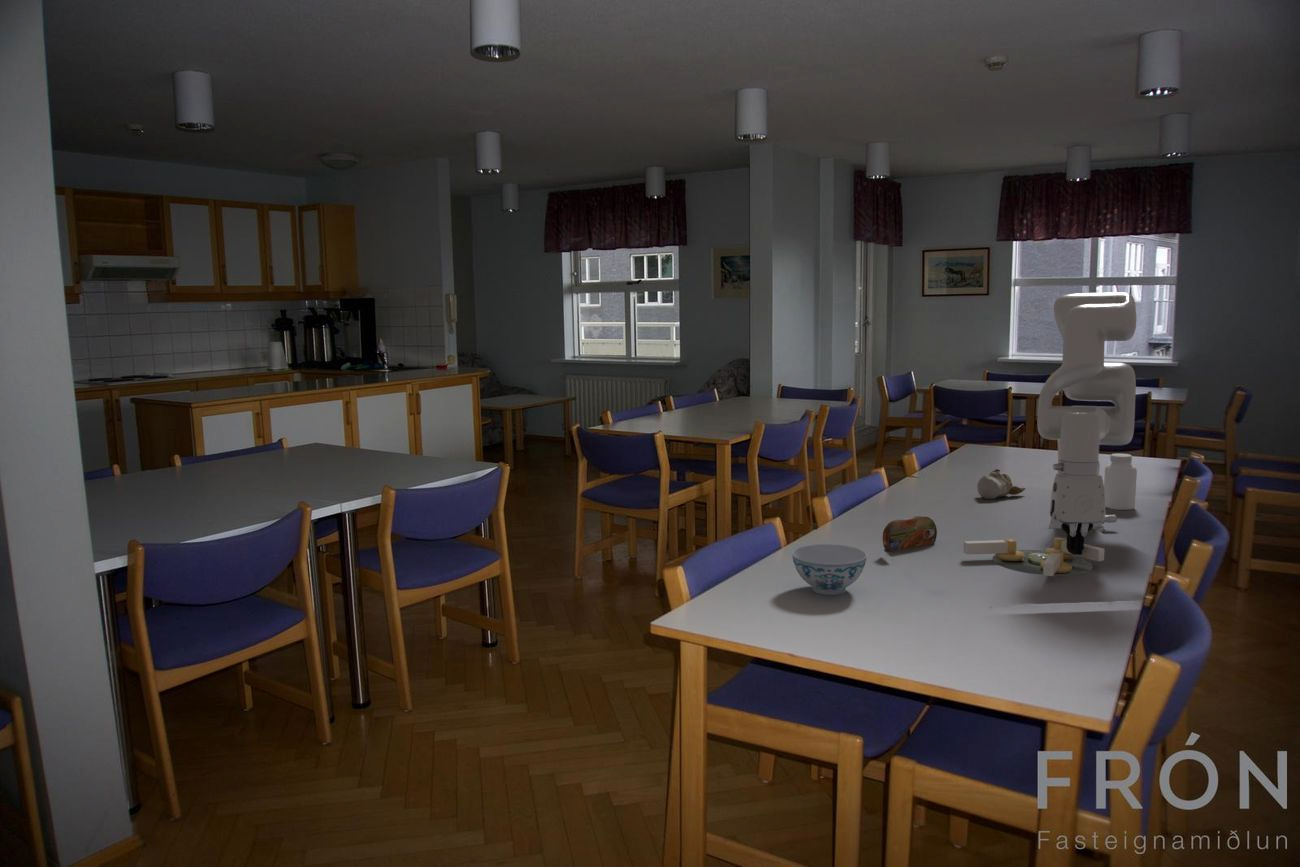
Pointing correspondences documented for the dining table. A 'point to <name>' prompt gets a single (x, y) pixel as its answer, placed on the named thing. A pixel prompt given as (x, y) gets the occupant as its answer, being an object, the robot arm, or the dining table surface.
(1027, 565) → the level base
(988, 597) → the dining table surface
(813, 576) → the chinaware
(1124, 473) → the pill bottle
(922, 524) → the tin
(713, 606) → the dining table surface
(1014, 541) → the knob left
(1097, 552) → the knob right
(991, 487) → the ceramic sculpture
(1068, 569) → the knob front
